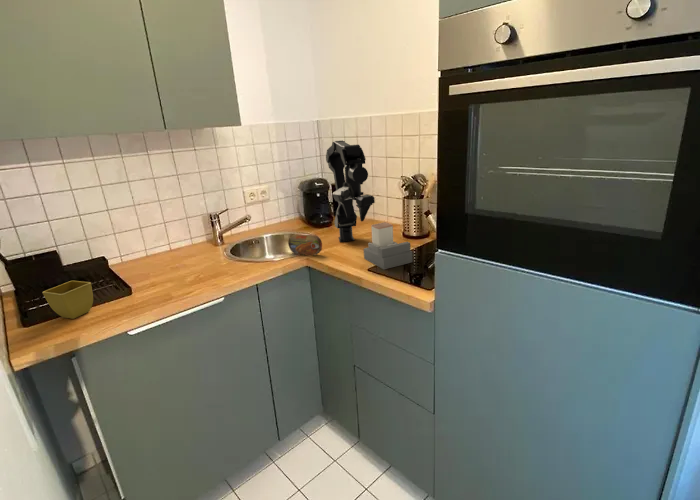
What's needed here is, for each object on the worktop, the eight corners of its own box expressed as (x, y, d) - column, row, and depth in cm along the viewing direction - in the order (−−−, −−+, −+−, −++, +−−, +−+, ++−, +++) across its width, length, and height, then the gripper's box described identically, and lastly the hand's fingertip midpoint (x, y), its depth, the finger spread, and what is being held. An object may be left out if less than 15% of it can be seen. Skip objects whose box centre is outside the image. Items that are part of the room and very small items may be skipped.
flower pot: (50, 319, 110) (40, 291, 107) (80, 306, 117) (71, 279, 114) (71, 323, 106) (61, 294, 104) (100, 309, 114) (91, 282, 111)
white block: (372, 247, 140) (371, 224, 138) (386, 244, 143) (385, 222, 140) (379, 250, 136) (378, 227, 133) (393, 247, 139) (392, 224, 136)
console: (364, 258, 142) (363, 240, 140) (390, 252, 147) (390, 235, 145) (384, 269, 130) (383, 250, 128) (412, 262, 135) (412, 243, 133)
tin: (289, 253, 154) (286, 233, 151) (293, 251, 157) (291, 231, 154) (320, 257, 147) (318, 236, 145) (324, 254, 150) (322, 234, 147)
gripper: (321, 179, 146) (325, 219, 151) (349, 184, 131) (352, 228, 136) (345, 176, 151) (347, 213, 157) (374, 180, 137) (376, 221, 142)
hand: (355, 219), depth 148 cm, fingers open, 9 cm apart
